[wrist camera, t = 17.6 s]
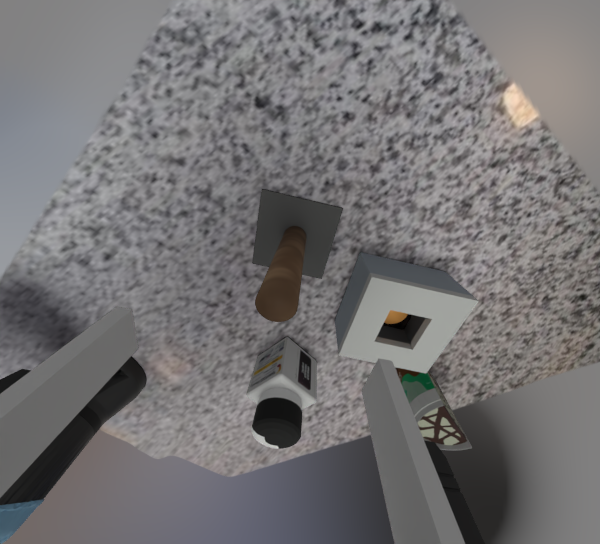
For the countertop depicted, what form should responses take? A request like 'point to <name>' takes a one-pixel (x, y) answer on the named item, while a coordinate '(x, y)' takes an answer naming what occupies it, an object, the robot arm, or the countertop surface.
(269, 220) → the pad
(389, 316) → the button
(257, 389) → the container
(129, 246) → the countertop surface
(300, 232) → the stylus
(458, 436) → the food container
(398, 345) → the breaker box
